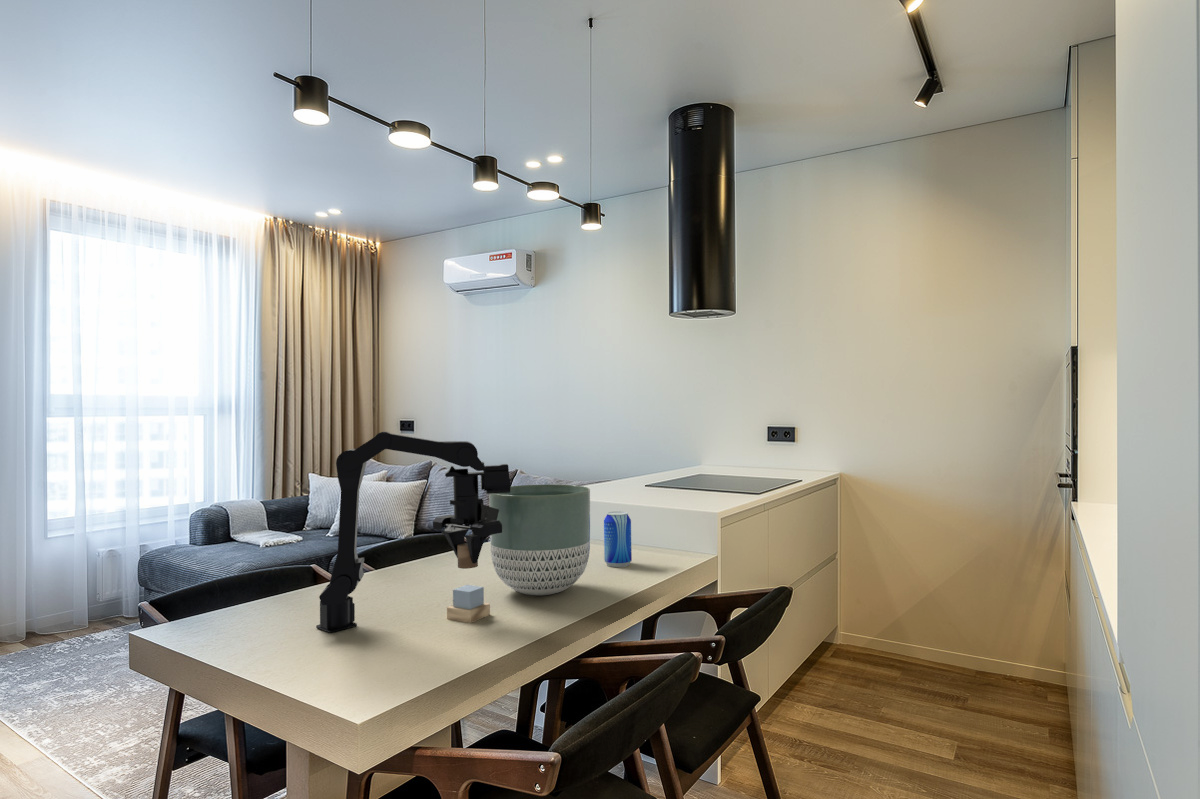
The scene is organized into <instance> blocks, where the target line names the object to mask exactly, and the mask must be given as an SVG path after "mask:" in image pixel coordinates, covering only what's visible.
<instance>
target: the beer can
mask: <svg viewBox="0 0 1200 799" xmlns="http://www.w3.org/2000/svg"><path fill="white" fill-rule="evenodd" d="M603 547H604V548H603V549H604V551H603V552H604V555H603V556H604V558H603V559H604V562H605V563H606V566H608V567H611V568H625V567H628V566H630V563H631V562H632V558H633V557H632V555H633V554H632V520H631V518H630V516H629V512H627V511H621V510H620V511H618V510H617V511H609V512H606V516H605V517H604V520H603Z"/></svg>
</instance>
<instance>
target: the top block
mask: <svg viewBox="0 0 1200 799" xmlns="http://www.w3.org/2000/svg"><path fill="white" fill-rule="evenodd" d="M484 590H485V588H484V586H479V585H473V584H464V585H463V586H460V587H457V588H453V589H452V605H453V607H457V608H463V609H469V610H470V609H473V608H475V607H478V606H480V605H483V604H484V603H485V600H484V599H485V598H484V597H485V593H484Z"/></svg>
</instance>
